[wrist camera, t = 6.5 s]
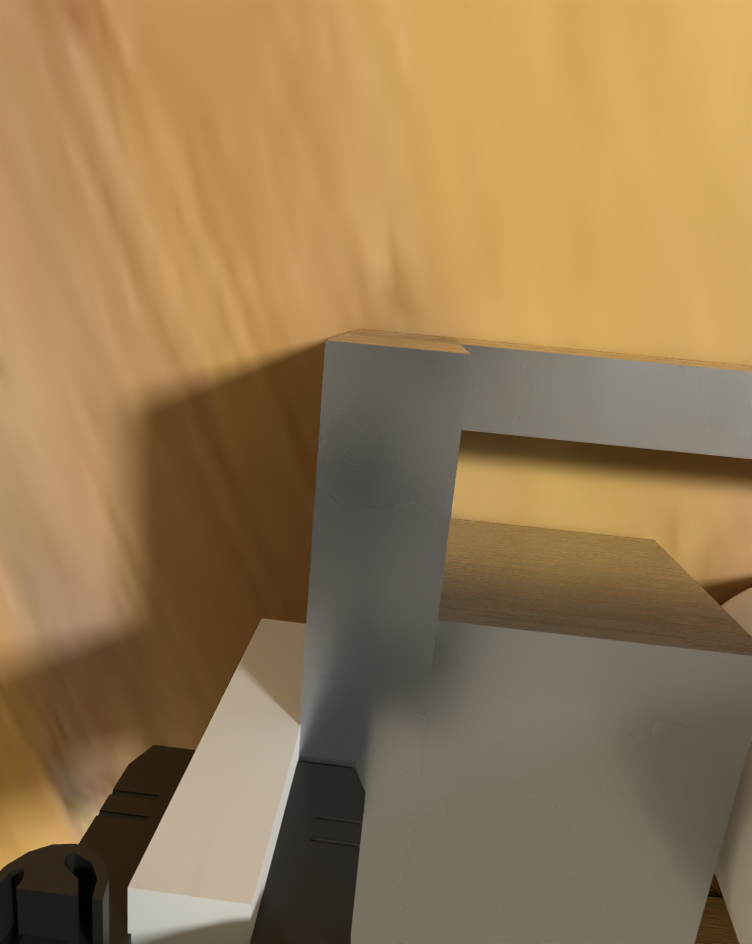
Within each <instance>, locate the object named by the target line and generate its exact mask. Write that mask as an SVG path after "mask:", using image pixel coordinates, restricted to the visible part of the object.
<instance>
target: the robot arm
mask: <svg viewBox="0 0 752 944" xmlns="http://www.w3.org/2000/svg"><path fill="white" fill-rule="evenodd" d="M305 632H306V624H304V623H296V622H288V621H280V620H271V619H263V618H262V619H261V621H260V623H259V625H258V627H257V629H256V631H255V633H254V635H253V637H252V639H251V641H250V643H249V645H248V647H247V649H246V651H245V653H244V655H243V657H242V659H241V661H240V663H239V665H238V667H237V669H236V671H235V673H234V675H233V677H232V679H231V681H230V683H229V685H228V687H227V689H226V691H225V693H224V695H223V697H222V699H221V701H220V703H219V705H218V707H217V709H216V711H215V713H214V715H213V717H212V719H211V721H210V723H209V725H208V727H207V729H206V731H205V733H204V735H203V737H202V739H201V741H200V743H199V745H198V747H197V749H196V750H189V749H181V748H173V747H165V746H157V745H153V746H152V747H151V748H149V749H148V750H147V751H146V752H144V753H143V754H142V755H140V756H139V757H138V758H137V759H135V760H134V761H133V762H131V763H130V764H129V765H128V766H127V768H126V770H125V771H124V773H123V774H122V776H121V778H120V779H119V781H118V782H117V784H116V786H115V787H114V789H113V792H112V795H111V794H110V795H109V797H108V798H107V800H106V801H105V803H104V805H103V806H102V808H101V809H100V813H99V815H98V816H96V817H95V819H94V820H93V822H92V824H91V825H90V827H89V828H88V830H87V832H86V833H85V835H84V836H83V838H82V840H81V841H80V843H79V844H78V845H77V844H53V845H50V846H46V847H43V848H40V849H37V850H33V851H30V852H28V853H26V854H24V855H23V856H21V857H19V858H18V859H16V860H14V861H13V862H11V863H9V864H7V865H6V866H5V867H4V868H3V869H2V870H1V871H0V944H351V928H352V919H353V909H354V900H355V890H356V881H357V871H358V861H359V852H360V842H361V833H362V823H363V814H364V804H365V794H366V793H365V790H364V788H363V785H362V783H361V780H360V778H359V776H358V773H357V771H356V769H353V768H345V767H337V766H329V765H322V764H314V763H306V762H298V756H299V743H300V731H301V725H299V720H300V705H301V690H302V676H303V661H304V646H305Z"/></svg>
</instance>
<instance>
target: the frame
mask: <svg viewBox="0 0 752 944" xmlns="http://www.w3.org/2000/svg"><path fill="white" fill-rule="evenodd" d="M462 430H467V431H477V432H487V433H497V434H507V435H517V436H527V437H537V438H547V439H557V440H566V441H576V442H586V443H596V444H606V445H616V446H626V447H636V448H646V449H656V450H666V451H676V452H686V453H696V454H706V455H716V456H726V457H735V458H745V459H752V366H747V365H737V364H726V363H715V362H705V361H694V360H684V359H673V358H663V357H652V356H641V355H631V354H620V353H610V352H599V351H588V350H578V349H567V348H557V347H546V346H536V345H525V344H514V343H504V342H493V341H483V340H472V339H462V338H451V337H440V336H430V335H419V334H409V333H398V332H388V331H377V330H366V329H357V330H354V331H351V332H348V333H345V334H342V335H339V336H336V337H334V338H331V339H328V340H325V353H324V368H323V383H322V397H321V412H320V427H319V441H318V456H317V471H316V485H315V500H314V515H313V529H312V544H311V559H310V573H309V588H308V602H307V617H306V632H305V646H304V661H303V676H302V690H301V705H300V720H299V725H301V731H300V743H299V756H298V762H306V763H314V764H322V765H329V766H337V767H345V768H353V769H356V771H357V773H358V776H359V778H360V780H361V783H362V785H363V788H364V790H365V793H366V794H365V804H364V814H363V823H362V833H361V842H360V852H359V861H358V871H357V881H356V890H355V900H354V909H353V919H352V928H351V944H739V941H738V938H737V935H736V932H735V930H734V927H733V924H732V921H731V918H730V915H729V912H728V909H727V906H726V903H725V901H724V898H719V897H711V896H708V893H709V889H710V885H711V882H712V878H713V875H714V871H715V867H716V864H717V860H718V857H719V853H720V849H721V846H722V842H723V839H724V835H725V831H726V828H727V824H728V821H729V817H730V814H731V810H732V806H733V803H734V799H735V796H736V792H737V788H738V785H739V781H740V778H741V774H742V770H743V767H744V763H745V760H746V756H747V752H748V749H749V745H750V742H751V738H752V636H751V635H750V634H748V633H747V632H746V631H745V630H744V629H743V628H742V627H741V626H740V625H739V624H738V623H737V622H736V621H735V620H734V619H733V618H732V617H731V616H730V615H729V614H728V613H727V612H726V611H725V610H724V609H723V608H722V607H721V606H720V605H719V604H718V603H717V602H716V601H715V600H714V599H713V598H712V597H711V596H710V595H709V594H708V593H707V592H706V591H705V590H704V589H703V588H702V587H701V586H700V585H699V584H698V583H697V582H696V581H695V580H694V579H693V578H692V577H691V576H690V575H689V574H688V573H687V572H686V571H685V570H684V569H683V568H682V567H681V566H680V565H679V564H678V563H677V562H676V561H675V560H674V559H673V558H672V557H671V556H670V555H669V554H668V553H667V552H666V551H665V550H664V549H663V548H662V547H661V546H660V545H659V544H658V543H657V542H656V541H655V540H648V539H639V538H630V537H620V536H611V535H601V534H592V533H583V532H573V531H564V530H554V529H545V528H536V527H526V526H517V525H508V524H498V523H489V522H479V521H470V520H461V519H451V510H452V502H453V494H454V486H455V478H456V470H457V462H458V454H459V446H460V438H461V431H462Z"/></svg>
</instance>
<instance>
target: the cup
mask: <svg viewBox="0 0 752 944" xmlns="http://www.w3.org/2000/svg"><path fill="white" fill-rule="evenodd" d="M721 607H722V608H723V609H724V610H725V611H726V612H727V613H728V614H729V615H730V616H731V617H732V618H733V619H734V620H735V621H736V622H737V623H738V624H739V625H740V626H741V627H742V628H743V629H744V630H745V631H746V632H747V633H748V634H750V635H751V636H752V587H751V588H749V589H747V590H745V591H743V592H741V593H739V594H738V595H736V596H734V597H733V598H731V599H730V600H728V601H727V602H725V603H724V604H722V605H721ZM714 872H715V875H716V877H717V880H718V883H719V886H720V889H721V892H722V895H723V898H724V901H725V903H726V906H727V909H728V912H729V915H730V918H731V921H732V924H733V927H734V930H735V932H736V935H737V938H738V941H739V944H752V738H751V742H750V745H749V749H748V752H747V756H746V760H745V763H744V767H743V770H742V774H741V778H740V781H739V785H738V788H737V792H736V796H735V799H734V803H733V806H732V810H731V814H730V817H729V821H728V824H727V828H726V831H725V835H724V839H723V842H722V846H721V849H720V853H719V857H718V860H717V864H716V867H715V871H714Z"/></svg>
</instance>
